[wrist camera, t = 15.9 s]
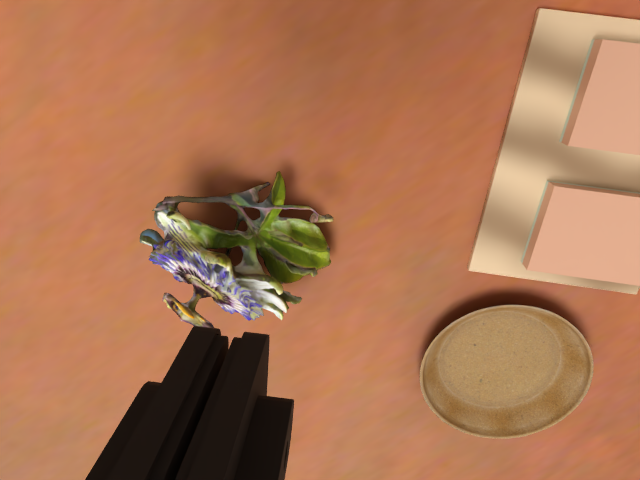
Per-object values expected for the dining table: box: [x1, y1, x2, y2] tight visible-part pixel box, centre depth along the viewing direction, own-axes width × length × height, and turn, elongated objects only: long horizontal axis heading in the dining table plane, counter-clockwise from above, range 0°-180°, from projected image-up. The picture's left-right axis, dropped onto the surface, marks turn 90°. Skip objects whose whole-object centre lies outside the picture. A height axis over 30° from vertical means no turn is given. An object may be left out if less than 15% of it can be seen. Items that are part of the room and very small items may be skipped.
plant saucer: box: [420, 305, 593, 439], centre depth 42 cm, size 15×15×3 cm
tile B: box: [521, 180, 640, 286], centre depth 36 cm, size 7×2×9 cm
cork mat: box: [467, 8, 640, 294], centre depth 35 cm, size 20×14×1 cm
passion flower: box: [140, 171, 333, 328], centre depth 36 cm, size 13×12×14 cm
